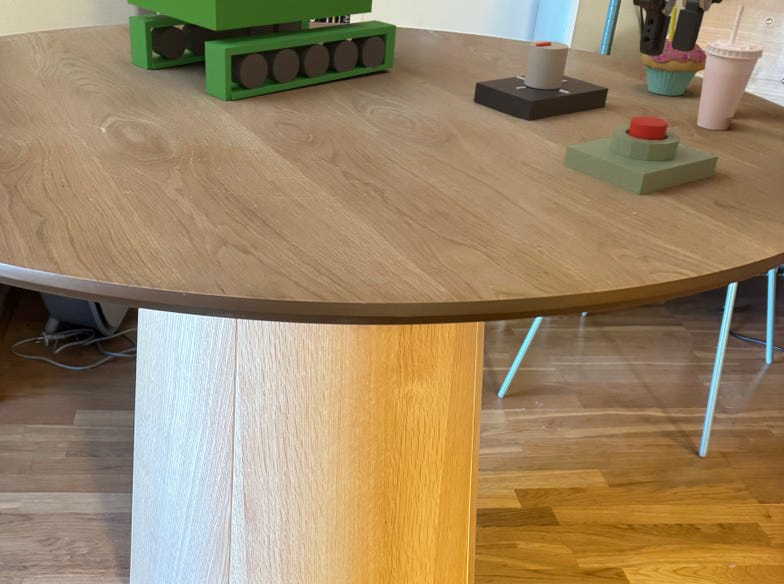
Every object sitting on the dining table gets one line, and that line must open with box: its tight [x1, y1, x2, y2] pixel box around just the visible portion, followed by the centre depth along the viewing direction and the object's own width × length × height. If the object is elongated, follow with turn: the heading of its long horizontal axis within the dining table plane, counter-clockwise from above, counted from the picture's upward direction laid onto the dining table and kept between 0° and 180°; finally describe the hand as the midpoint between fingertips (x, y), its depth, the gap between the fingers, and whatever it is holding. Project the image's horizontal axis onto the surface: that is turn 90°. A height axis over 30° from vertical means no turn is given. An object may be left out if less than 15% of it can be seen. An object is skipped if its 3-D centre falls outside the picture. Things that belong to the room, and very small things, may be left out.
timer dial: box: [524, 40, 569, 90], centre depth 112 cm, size 5×5×5 cm
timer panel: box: [473, 74, 609, 122], centre depth 114 cm, size 14×10×3 cm
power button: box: [628, 115, 669, 140], centre depth 91 cm, size 4×4×2 cm
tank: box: [126, 0, 397, 101], centre depth 124 cm, size 24×35×16 cm
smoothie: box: [696, 4, 765, 131], centre depth 106 cm, size 6×6×14 cm
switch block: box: [563, 124, 719, 196], centre depth 92 cm, size 12×10×4 cm
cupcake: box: [640, 2, 707, 97], centre depth 120 cm, size 9×8×12 cm
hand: (666, 51), depth 87 cm, fingers open, 4 cm apart
